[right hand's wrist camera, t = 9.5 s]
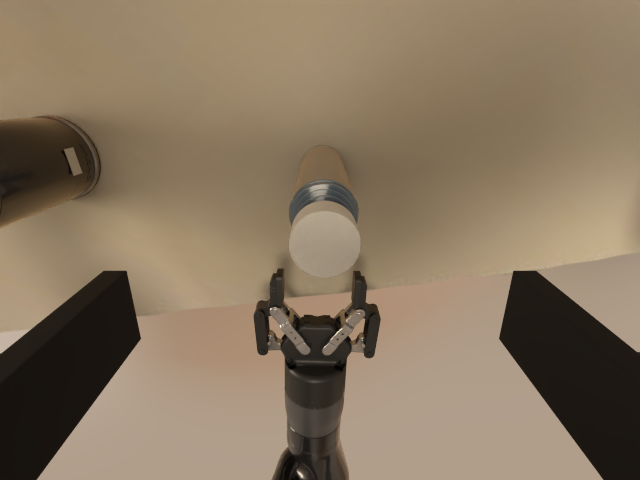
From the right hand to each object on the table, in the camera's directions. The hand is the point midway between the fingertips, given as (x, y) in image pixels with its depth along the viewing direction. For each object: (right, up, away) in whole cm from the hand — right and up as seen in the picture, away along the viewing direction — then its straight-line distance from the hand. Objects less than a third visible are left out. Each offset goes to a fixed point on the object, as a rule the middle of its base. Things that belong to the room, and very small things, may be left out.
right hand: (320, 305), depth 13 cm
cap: (0, +2, +8) cm, 8 cm away
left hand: (0, -1, +28) cm, 28 cm away
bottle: (0, +11, +30) cm, 32 cm away
